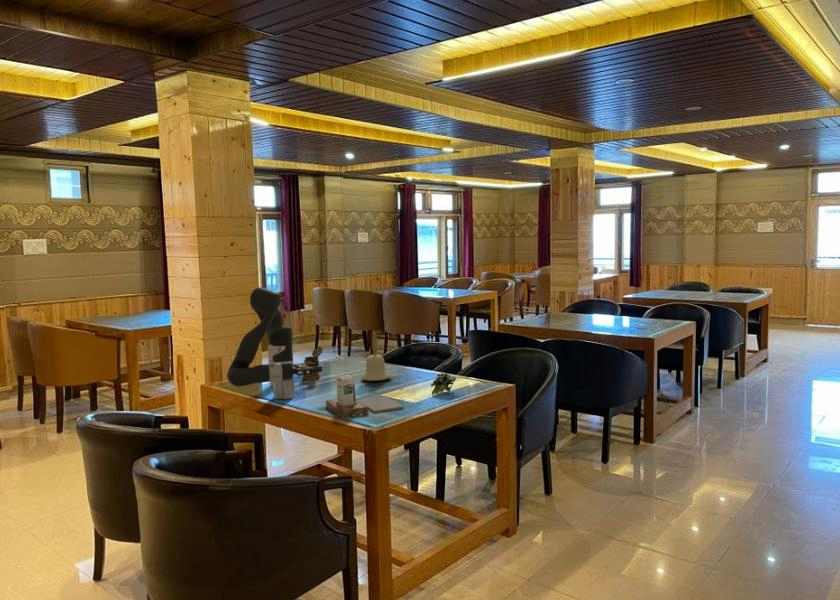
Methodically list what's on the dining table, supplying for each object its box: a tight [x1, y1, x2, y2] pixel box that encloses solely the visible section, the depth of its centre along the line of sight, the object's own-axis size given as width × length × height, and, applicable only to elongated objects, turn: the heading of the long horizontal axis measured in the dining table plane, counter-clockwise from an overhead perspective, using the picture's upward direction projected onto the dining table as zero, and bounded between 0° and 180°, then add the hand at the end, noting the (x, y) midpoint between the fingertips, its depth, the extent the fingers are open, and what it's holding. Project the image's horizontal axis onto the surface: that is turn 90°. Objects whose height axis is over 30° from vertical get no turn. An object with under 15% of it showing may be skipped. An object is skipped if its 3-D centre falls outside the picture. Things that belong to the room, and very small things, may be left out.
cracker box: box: [266, 344, 285, 386], centre depth 322 cm, size 14×6×21 cm, turn 174°
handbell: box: [360, 331, 392, 382], centre depth 323 cm, size 15×15×25 cm
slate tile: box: [358, 396, 404, 413], centre depth 274 cm, size 13×20×1 cm, turn 24°
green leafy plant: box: [430, 372, 457, 396], centre depth 290 cm, size 11×11×12 cm
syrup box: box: [335, 374, 356, 407], centre depth 267 cm, size 6×6×14 cm
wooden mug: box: [302, 346, 324, 381], centre depth 330 cm, size 9×14×18 cm, turn 43°
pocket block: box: [325, 397, 369, 419], centre depth 268 cm, size 12×20×3 cm, turn 24°
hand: (318, 367), depth 261 cm, fingers open, 8 cm apart
